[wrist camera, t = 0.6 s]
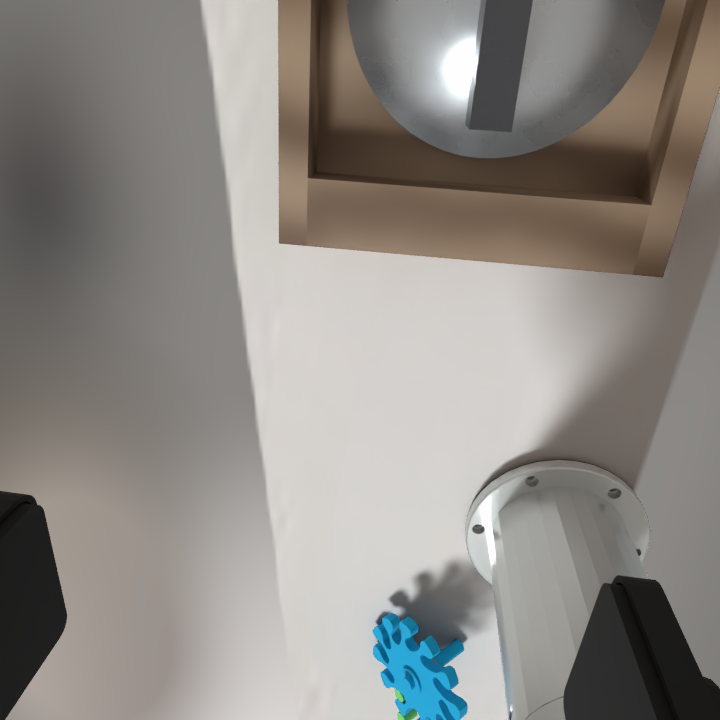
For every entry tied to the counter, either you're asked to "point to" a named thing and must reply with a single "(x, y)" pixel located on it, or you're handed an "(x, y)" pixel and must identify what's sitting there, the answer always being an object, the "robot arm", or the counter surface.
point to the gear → (418, 671)
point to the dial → (498, 66)
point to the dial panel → (492, 159)
